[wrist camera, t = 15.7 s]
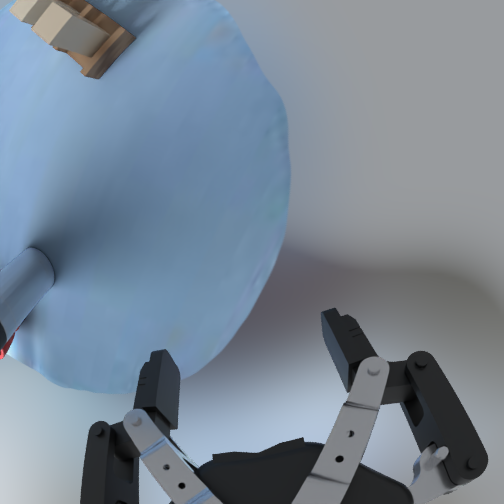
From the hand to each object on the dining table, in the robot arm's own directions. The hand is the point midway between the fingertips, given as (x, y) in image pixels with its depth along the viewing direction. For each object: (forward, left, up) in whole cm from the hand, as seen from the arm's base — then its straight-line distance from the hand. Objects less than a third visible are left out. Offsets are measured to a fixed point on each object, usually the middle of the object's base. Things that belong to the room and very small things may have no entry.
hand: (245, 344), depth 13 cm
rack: (-16, +33, -28) cm, 46 cm away
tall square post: (-18, +37, -27) cm, 49 cm away
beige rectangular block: (-14, +30, -27) cm, 42 cm away
